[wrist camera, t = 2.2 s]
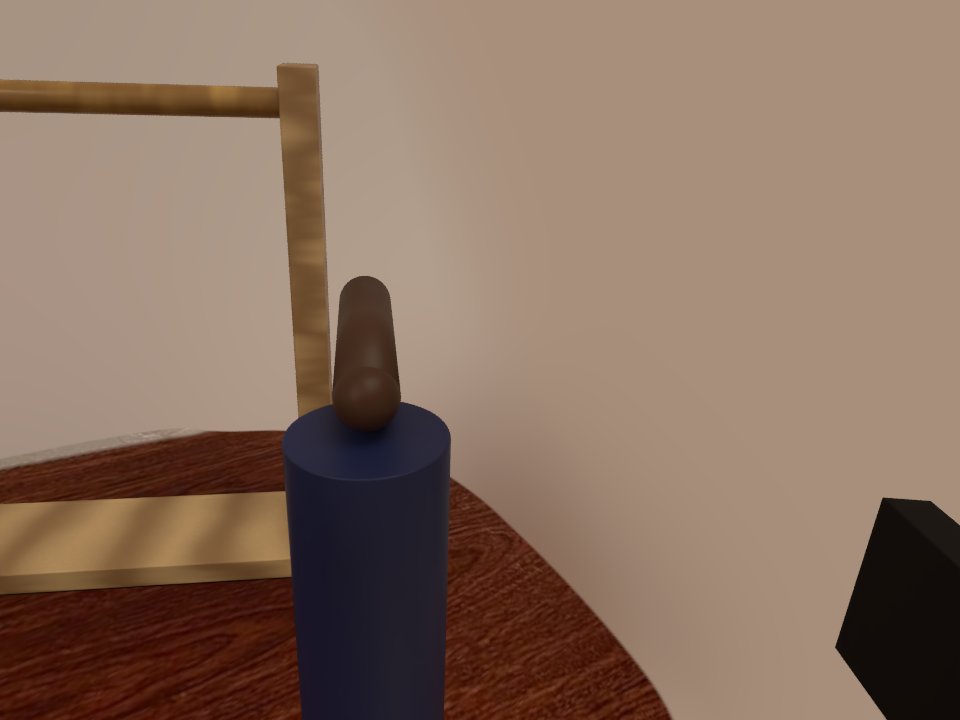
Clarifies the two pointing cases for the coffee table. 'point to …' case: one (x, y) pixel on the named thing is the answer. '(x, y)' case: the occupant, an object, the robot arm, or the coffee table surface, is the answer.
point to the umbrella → (368, 532)
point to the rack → (263, 516)
